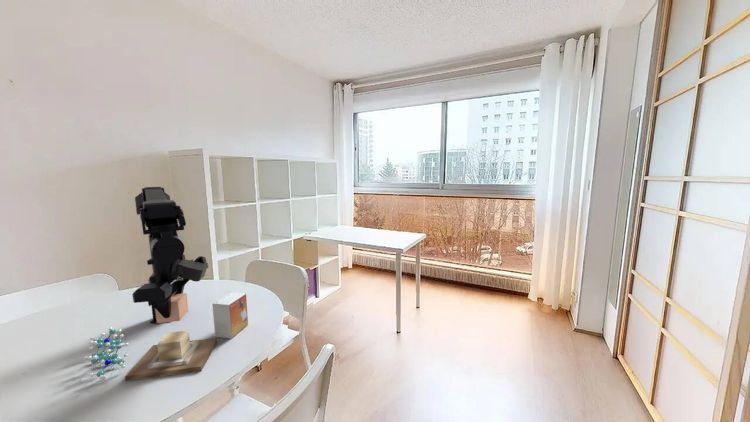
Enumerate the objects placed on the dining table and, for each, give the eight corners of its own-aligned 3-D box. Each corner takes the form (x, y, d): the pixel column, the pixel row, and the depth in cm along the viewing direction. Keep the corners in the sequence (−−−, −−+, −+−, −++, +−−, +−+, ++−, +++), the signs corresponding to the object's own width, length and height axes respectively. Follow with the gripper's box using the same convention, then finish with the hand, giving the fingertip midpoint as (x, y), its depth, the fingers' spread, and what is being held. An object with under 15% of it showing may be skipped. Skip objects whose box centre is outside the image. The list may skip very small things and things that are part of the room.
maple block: (159, 362, 70) (157, 344, 69) (169, 350, 75) (167, 332, 74) (182, 359, 71) (180, 341, 70) (190, 347, 76) (188, 330, 75)
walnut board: (125, 381, 65) (124, 373, 65) (153, 349, 77) (152, 342, 77) (201, 370, 69) (200, 363, 68) (217, 341, 80) (217, 335, 80)
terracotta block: (156, 323, 69) (154, 303, 68) (166, 313, 73) (164, 295, 73) (180, 320, 70) (177, 301, 69) (188, 311, 75) (186, 293, 74)
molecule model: (128, 341, 80) (124, 318, 79) (133, 373, 68) (129, 346, 67) (87, 354, 75) (83, 329, 74) (85, 392, 62) (80, 362, 61)
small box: (231, 339, 81) (228, 305, 80) (214, 337, 82) (211, 303, 81) (249, 324, 89) (246, 293, 88) (233, 322, 90) (230, 291, 89)
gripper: (185, 262, 62) (192, 328, 64) (214, 241, 80) (219, 293, 82) (126, 266, 60) (136, 334, 62) (169, 244, 78) (176, 297, 80)
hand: (172, 312), depth 71 cm, fingers closed on terracotta block, 5 cm apart
